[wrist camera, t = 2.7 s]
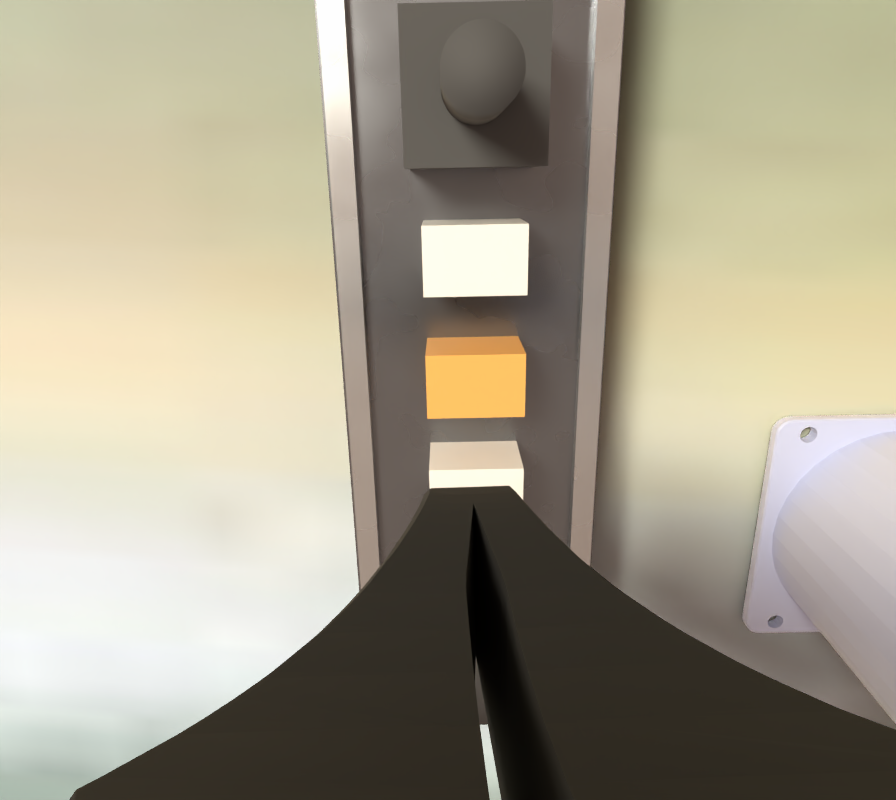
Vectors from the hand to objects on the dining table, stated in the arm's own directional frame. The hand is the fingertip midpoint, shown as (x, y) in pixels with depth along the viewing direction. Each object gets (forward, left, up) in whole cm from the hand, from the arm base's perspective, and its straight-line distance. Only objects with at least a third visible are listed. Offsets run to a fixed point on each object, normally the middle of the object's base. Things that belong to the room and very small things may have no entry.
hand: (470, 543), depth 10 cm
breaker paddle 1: (0, -4, -8) cm, 9 cm away
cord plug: (0, -7, -8) cm, 11 cm away
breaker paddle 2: (0, +2, -8) cm, 8 cm away
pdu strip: (0, -1, -10) cm, 10 cm away
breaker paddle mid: (0, -1, -8) cm, 8 cm away
